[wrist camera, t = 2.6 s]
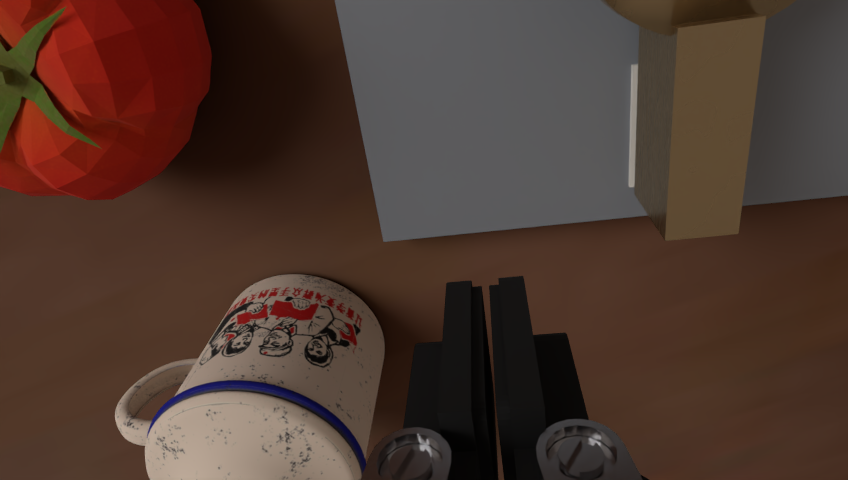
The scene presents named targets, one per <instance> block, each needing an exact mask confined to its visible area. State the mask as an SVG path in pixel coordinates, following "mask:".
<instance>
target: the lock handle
mask: <svg viewBox="0 0 848 480" xmlns="http://www.w3.org/2000/svg"><path fill="white" fill-rule="evenodd" d="M601 1H602V2H603V4H605V5H606V6H607V7H609V8H610V9H611V10H612V11H614V12H615V13H616V14H618V15H620V16H622V17H624V18H625V19H627V20H629V21H631V22H633V23H635V24H637V25H639V51H638V84H637V118H636V151H635V184H634V195H635V196H636V198H637V199H638V201H639V202H640V204H641V205H642V207H643V208H644V210H645V211H646V213H647V214H648V216H649V217H650V219H651V220H652V222H653V223H654V225H655V226H656V228H657V229H658V231H659V233H660V234H661V236H662V237H663V239H664V240H665V241H669V240H679V239H690V238H700V237H711V236H721V235H732V234H738V233H739V225H740V218H741V210H742V202H743V194H744V186H745V178H746V171H747V163H748V155H749V147H750V139H751V131H752V124H753V116H754V108H755V100H756V92H757V85H758V77H759V69H760V61H761V53H762V45H763V38H764V30H765V22H766V19H768V18H770V17H772V16H773V15H775V14H777V13H778V12H780V11H782V10H783V9H785V8H787V7H788V6H789V5H791V4H792V3H793V2H795V1H796V0H601Z"/></svg>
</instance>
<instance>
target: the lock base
mask: <svg viewBox="0 0 848 480" xmlns="http://www.w3.org/2000/svg"><path fill="white" fill-rule="evenodd" d="M335 4H336V9H337V14H338V19H339V24H340V29H341V34H342V38H343V43H344V48H345V53H346V58H347V63H348V68H349V73H350V78H351V83H352V88H353V93H354V98H355V103H356V108H357V113H358V117H359V122H360V127H361V132H362V137H363V142H364V147H365V152H366V157H367V162H368V167H369V172H370V177H371V182H372V187H373V192H374V197H375V201H376V206H377V211H378V216H379V221H380V226H381V231H382V236H383V241H384V242H388V241H398V240H407V239H417V238H427V237H437V236H447V235H457V234H467V233H477V232H487V231H497V230H507V229H517V228H527V227H537V226H547V225H557V224H567V223H577V222H587V221H597V220H607V219H617V218H627V217H637V216H647V215H648V214H647V213H646V211H645V210H644V208H643V207H642V205H641V204H640V202H639V201H638V199H637V198H636V196H635V195H634V184H635V151H636V118H637V84H638V51H639V25H637V24H635V23H633V22H631V21H629V20H627V19H625V18H624V17H622V16H620V15H618V14H616V13H615V12H614V11H612V10H611V9H610V8H609V7H607V6H606V5H605V4H603V2H602V1H601V0H335ZM847 195H848V0H796V1H795V2H793V3H792V4H791V5H789V6H788V7H787V8H785V9H783V10H782V11H780V12H778V13H777V14H775V15H773V16H772V17H770V18H768V19H766V22H765V30H764V38H763V45H762V53H761V61H760V69H759V77H758V85H757V92H756V100H755V108H754V116H753V124H752V131H751V139H750V147H749V155H748V163H747V171H746V178H745V186H744V194H743V202H742V206H747V205H757V204H767V203H777V202H787V201H797V200H807V199H817V198H827V197H837V196H847Z"/></svg>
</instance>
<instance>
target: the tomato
mask: <svg viewBox="0 0 848 480" xmlns="http://www.w3.org/2000/svg"><path fill="white" fill-rule="evenodd" d="M211 60H212V53H211V48H210V45H209V41H208V37H207V33H206V29H205V26H204V22H203V18H202V14H201V10H200V8H199V7H198V6H197V4H196V3H195V2H194V1H193V0H0V187H3V188H7V189H10V190H14V191H17V192H20V193H24V194H27V195H30V196H61V195H72V196H76V197H79V198H83V199H86V200H104V199H114V198H116V197H119V196H121V195H123V194H125V193H127V192H129V191H132V190H133V189H135V188H137V187H138V186H140V185H142V184H143V183H145V182H147V181H148V180H150V179H152V178H153V177H155V176H157V175H158V174H160V173H161V172H162V171H163V170H164V169H165V168H166V167H167V165H168V164H169V163H170V162H171V161H172V160H173V159H174V157H175V156H176V155H177V154H178V153H179V152H180V151H181V149H182V148H183V147H184V146H185V145H186V143H187V142H188V141H189V140H190V136H191V132H192V129H193V125H194V121H195V117H196V114H197V109H198V106H199V104H200V103H201V101H202V100H203V98H204V97H205V95H206V94H207V93H208V91H209V87H210V73H211Z"/></svg>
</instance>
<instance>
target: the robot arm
mask: <svg viewBox="0 0 848 480" xmlns="http://www.w3.org/2000/svg"><path fill="white" fill-rule="evenodd" d="M498 279H499V285H490V286H489V290H490V308H491V325H492V342H493V360H494V377H495V394H496V408H497V419H498V429H499V437H500V446H501V455H502V464H503V472H504V480H649V479H647V478H645V477H643V476H642V475H640V473H639V471H638V469H637V467H636V466H635V464H634V462H633V460H632V458H631V456H630V454H629V452H628V450H627V448H626V446H625V444H624V443H623V442H622V440H621V439H620V438H619V436H618V435H617V434H616V433H615V432H613V431H612V430H611V429H609V428H608V427H607V426H604V425H602V424H600V423H597V422H595V421H590V420H589V419H588V415H587V411H586V407H585V403H584V399H583V396H582V392H581V388H580V384H579V380H578V376H577V372H576V368H575V364H574V360H573V356H572V352H571V348H570V344H569V340H568V337H567V334H566V333H554V334H540V335H533V333H532V326H531V320H530V314H529V308H528V302H527V296H526V290H525V284H524V278H523V276H519V277H507V278H498ZM360 480H498V464H497V445H496V427H495V408H494V392H493V381H492V372H491V364H490V355H489V346H488V337H487V329H486V320H485V311H484V303H483V294H482V287H481V286H478V287H472V282H471V281H460V282H449V283H447V284H446V298H445V312H444V326H443V340H442V342H430V343H417V344H416V345H415V348H414V355H413V362H412V369H411V376H410V383H409V391H408V398H407V405H406V412H405V419H404V426H403V429H402V430H398V431H395V432H393V433H391V434H390V435H388V436H386V437H384V438H383V439H382V440H381V441H380V442H379V443H378V444H377V445H376V446H375V447H374V449H373V451H372V452H371V454H370V456H369V458H368V461H367V464H366V466H365V469H364V472H363V474H362V477H361V479H360Z"/></svg>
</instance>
